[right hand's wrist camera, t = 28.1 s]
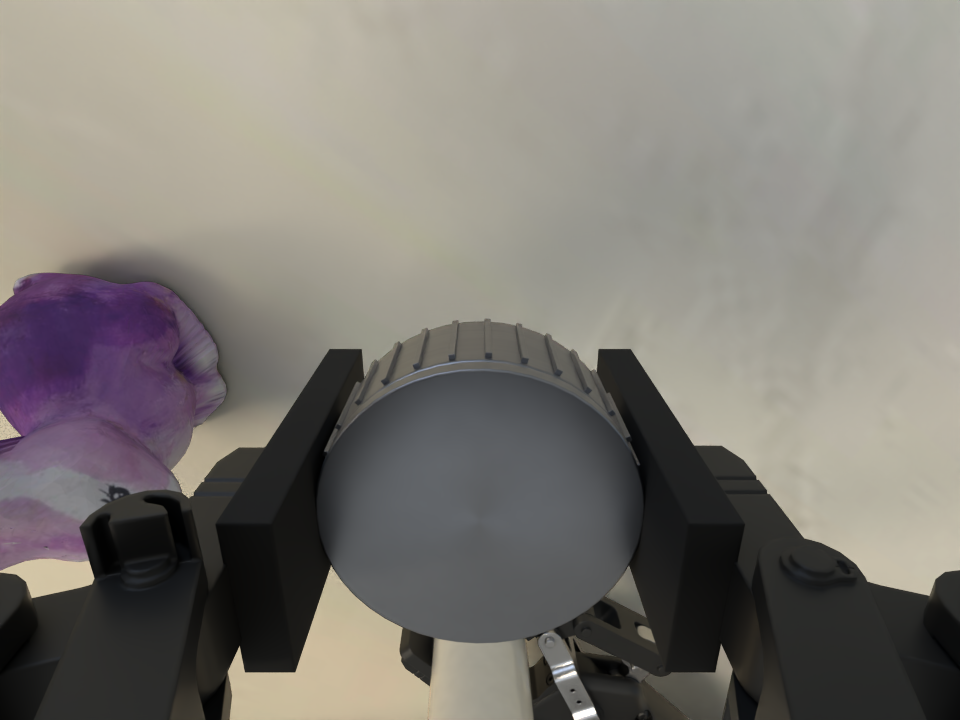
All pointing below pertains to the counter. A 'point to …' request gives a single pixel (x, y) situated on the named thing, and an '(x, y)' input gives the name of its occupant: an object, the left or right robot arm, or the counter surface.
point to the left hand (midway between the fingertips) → (443, 609)
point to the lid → (480, 485)
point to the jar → (480, 681)
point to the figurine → (93, 403)
